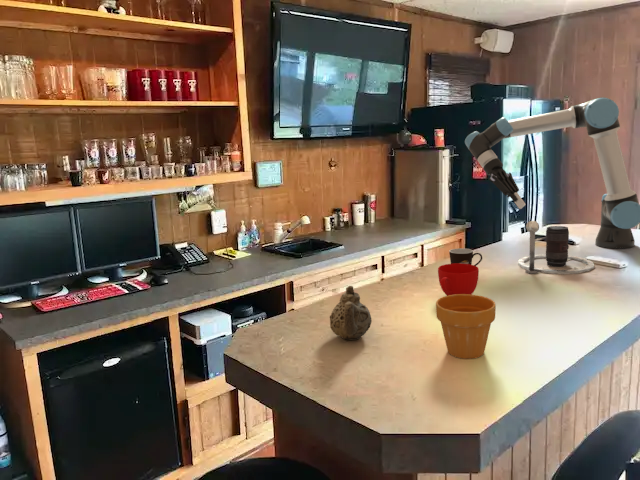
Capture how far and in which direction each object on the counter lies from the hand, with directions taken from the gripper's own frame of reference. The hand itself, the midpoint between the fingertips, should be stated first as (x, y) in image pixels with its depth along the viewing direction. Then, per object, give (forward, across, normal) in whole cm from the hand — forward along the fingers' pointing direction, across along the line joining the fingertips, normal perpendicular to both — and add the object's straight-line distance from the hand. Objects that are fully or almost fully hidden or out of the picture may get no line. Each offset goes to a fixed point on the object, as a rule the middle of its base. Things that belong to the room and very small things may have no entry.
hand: (522, 206), depth 216 cm
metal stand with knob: (+26, +14, -3) cm, 30 cm away
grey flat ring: (+27, +2, -3) cm, 27 cm away
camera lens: (+27, +1, -3) cm, 27 cm away
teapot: (+28, +107, 0) cm, 111 cm away
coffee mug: (+17, +38, -13) cm, 44 cm away
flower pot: (+46, +92, +20) cm, 105 cm away
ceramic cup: (+27, +61, -2) cm, 67 cm away
